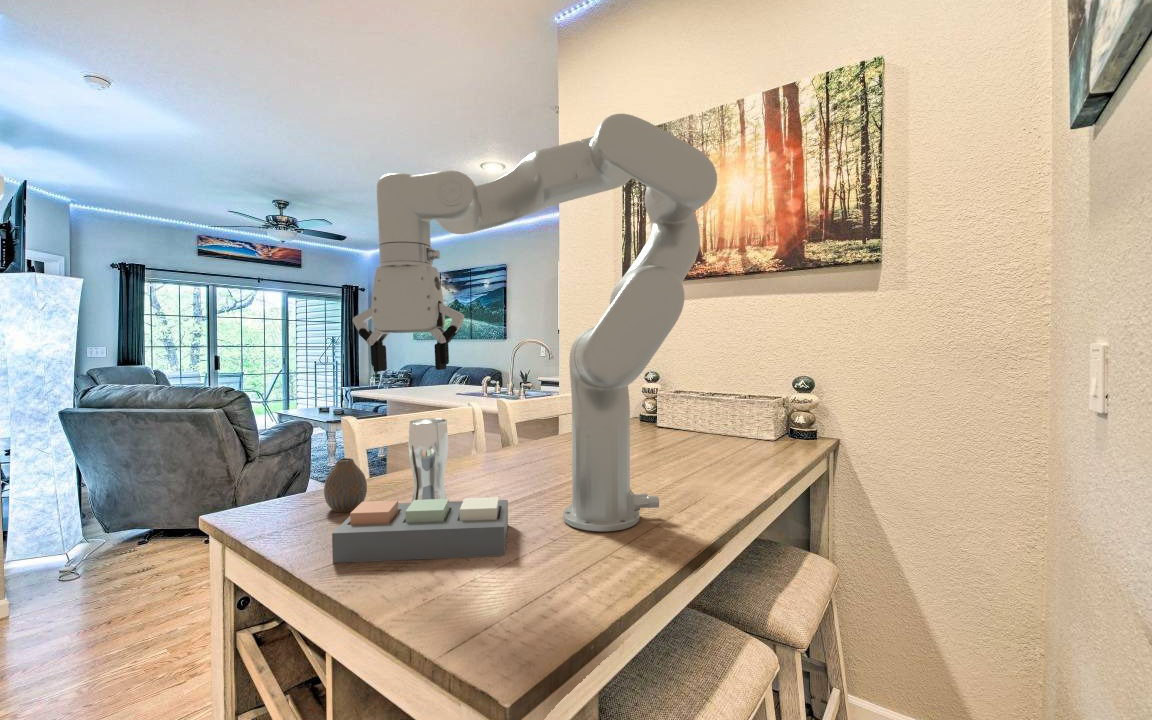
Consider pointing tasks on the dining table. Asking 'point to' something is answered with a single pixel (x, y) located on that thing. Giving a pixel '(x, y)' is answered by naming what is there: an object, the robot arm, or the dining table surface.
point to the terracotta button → (374, 512)
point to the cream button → (479, 509)
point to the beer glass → (428, 457)
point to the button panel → (421, 538)
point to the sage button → (428, 510)
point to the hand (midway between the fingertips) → (410, 370)
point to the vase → (345, 486)
